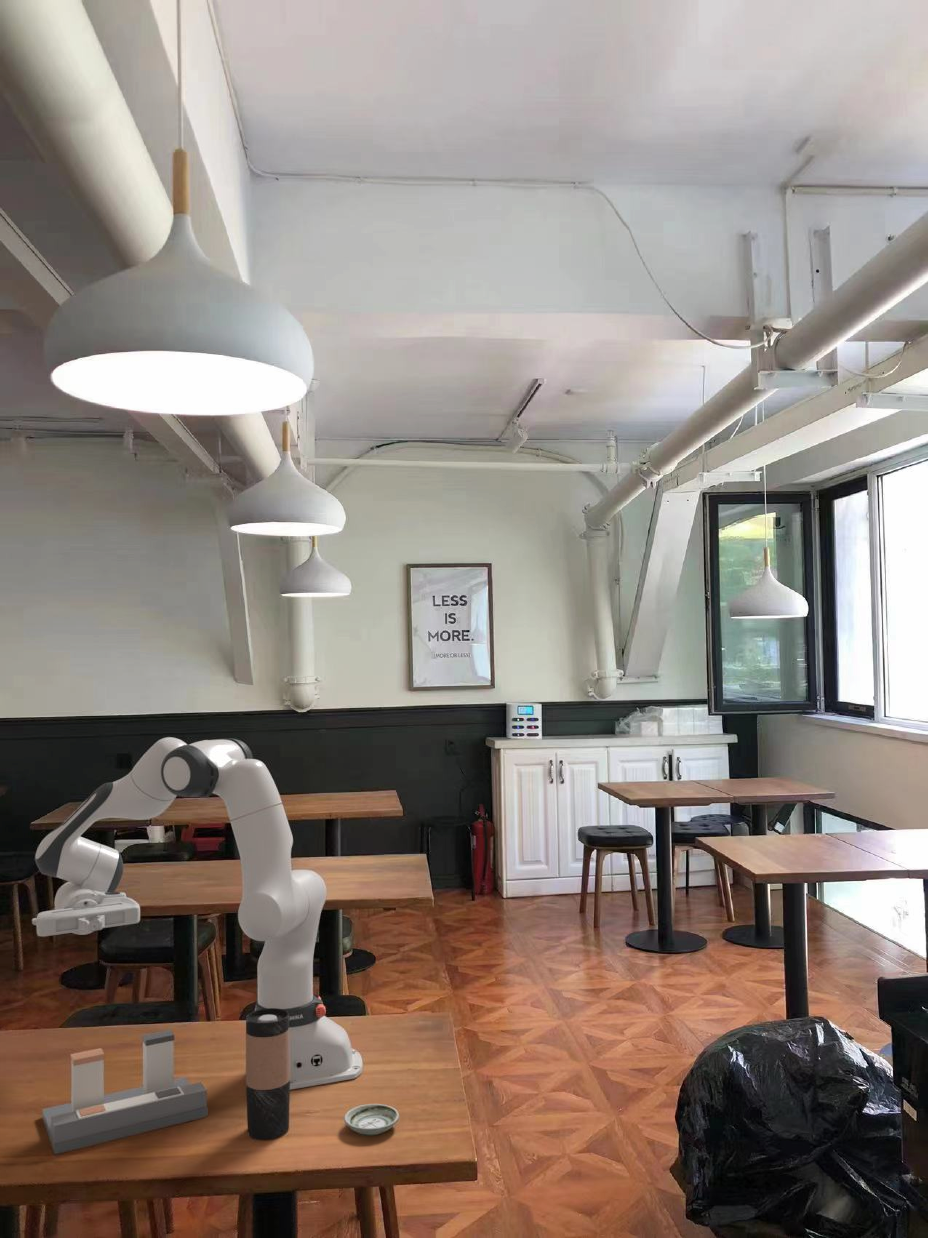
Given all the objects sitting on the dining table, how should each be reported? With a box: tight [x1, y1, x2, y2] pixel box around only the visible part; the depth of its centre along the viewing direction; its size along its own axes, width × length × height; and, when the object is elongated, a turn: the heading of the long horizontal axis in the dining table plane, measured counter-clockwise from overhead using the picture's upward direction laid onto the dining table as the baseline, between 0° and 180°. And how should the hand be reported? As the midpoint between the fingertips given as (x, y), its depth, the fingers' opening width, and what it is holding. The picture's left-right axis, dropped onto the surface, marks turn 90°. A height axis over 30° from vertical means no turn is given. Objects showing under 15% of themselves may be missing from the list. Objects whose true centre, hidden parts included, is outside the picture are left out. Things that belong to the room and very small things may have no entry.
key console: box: [41, 1076, 209, 1155], centre depth 180 cm, size 26×16×5 cm, turn 120°
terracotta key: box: [70, 1047, 105, 1112], centre depth 177 cm, size 3×5×11 cm, turn 120°
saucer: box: [343, 1103, 400, 1136], centre depth 174 cm, size 10×10×2 cm
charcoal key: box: [141, 1029, 175, 1095], centre depth 185 cm, size 3×5×11 cm, turn 120°
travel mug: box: [245, 1008, 291, 1141], centre depth 174 cm, size 8×8×20 cm
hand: (94, 926), depth 198 cm, fingers closed
